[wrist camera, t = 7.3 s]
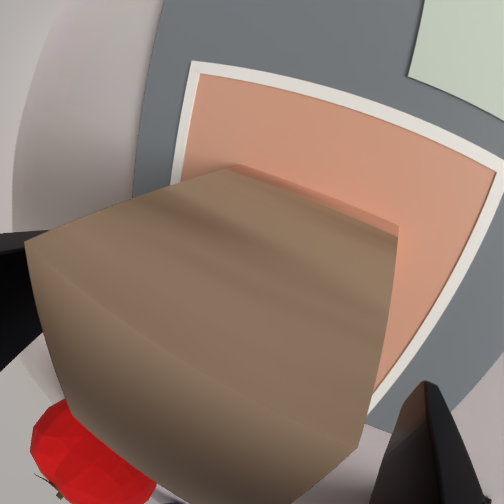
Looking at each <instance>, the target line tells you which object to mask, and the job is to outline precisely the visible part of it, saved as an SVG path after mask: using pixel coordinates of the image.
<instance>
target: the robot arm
mask: <svg viewBox="0 0 504 504" xmlns="http://www.w3.org/2000/svg"><path fill="white" fill-rule="evenodd" d="M47 231H50V230H42V231H28V232H14V233H3V234H0V372H1V371H2V370H3V369H4V368H5V367H6V366H7V365H8V364H9V363H10V362H11V361H12V360H13V359H14V358H15V357H16V356H17V355H18V354H19V353H21V352H22V351H23V350H24V349H25V348H26V347H27V346H28V345H29V344H30V343H31V342H32V341H33V340H35V339H36V338H37V337H38V336H39V335H40V334H41V333H42V332H43V330H42V326H41V322H40V319H39V315H38V311H37V307H36V302H35V298H34V294H33V289H32V284H31V279H30V274H29V269H28V263H27V257H26V251H25V244H24V242H25V241H27V240H29V239H31V238H34V237H36V236H38V235H41V234H43V233H45V232H47ZM491 501H492V500H491V499H488V498H484V495H483V492H482V489H481V487H480V484H479V481H478V478H477V476H476V473H475V470H474V468H473V465H472V462H471V460H470V457H469V455H468V452H467V450H466V447H465V445H464V442H463V440H462V438H461V435H460V433H459V431H458V428H457V426H456V424H455V421H454V419H453V417H452V415H451V412H450V410H449V408H448V406H447V404H446V402H445V399H444V397H443V395H442V393H441V391H440V389H439V387H438V385H436V384H434V383H432V382H429V381H427V380H423V381H421V382H420V383H419V384H418V386H417V387H416V388H415V389H414V390H413V392H412V393H411V394H410V395H409V396H408V397H407V399H406V400H405V401H404V403H403V405H402V407H401V410H400V413H399V416H398V419H397V421H396V424H395V427H394V430H393V433H392V435H391V438H390V441H389V443H388V446H387V449H386V451H385V454H384V457H383V460H382V463H381V466H380V469H379V473H378V476H377V479H376V483H375V486H374V489H373V492H372V495H371V498H370V501H369V504H491Z"/></svg>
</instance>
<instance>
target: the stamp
mask: <svg viewBox="0 0 504 504" xmlns="http://www.w3.org/2000/svg"><path fill="white" fill-rule="evenodd" d="M398 233H399V225H396V224H394V223H392V222H390V221H387V220H385V219H383V218H381V217H378V216H376V215H374V214H371V213H369V212H366V211H364V210H362V209H359V208H357V207H355V206H352V205H350V204H347V203H345V202H342V201H340V200H337V199H335V198H332V197H330V196H327V195H325V194H322V193H320V192H317V191H314V190H312V189H309V188H307V187H304V186H301V185H299V184H296V183H293V182H291V181H288V180H285V179H282V178H280V177H277V176H274V175H271V174H268V173H266V172H263V171H260V170H257V169H254V168H251V167H248V166H245V165H242V164H239V165H236V166H232V167H229V168H225V169H222V170H218V171H215V172H212V173H208V174H205V175H202V176H198V177H195V178H192V179H189V180H186V181H183V182H179V183H176V184H173V185H170V186H167V187H164V188H161V189H158V190H155V191H152V192H149V193H146V194H143V195H141V196H138V197H135V198H132V199H129V200H126V201H124V202H121V203H118V204H115V205H113V206H110V207H107V208H105V209H102V210H99V211H97V212H94V213H92V214H89V215H87V216H84V217H81V218H79V219H76V220H74V221H72V222H69V223H67V224H64V225H62V226H59V227H57V228H55V229H52V230H50V231H47V232H45V233H43V234H41V235H38V236H36V237H34V238H31V239H29V240H27V241H25V242H24V244H25V251H26V257H27V263H28V269H29V274H30V279H31V284H32V289H33V294H34V298H35V302H36V307H37V311H38V315H39V319H40V322H41V326H42V330H43V333H44V337H45V340H46V344H47V347H48V350H49V353H50V357H51V360H52V363H53V366H54V369H55V372H56V374H57V377H58V380H59V383H60V386H61V388H62V391H63V393H64V396H65V399H66V401H67V404H68V406H69V409H70V411H71V413H72V416H74V417H75V418H76V419H77V420H78V421H79V422H80V423H81V424H82V425H83V426H84V427H85V428H87V429H88V430H89V431H90V432H91V433H92V434H93V435H95V436H96V437H97V438H98V439H99V440H100V441H102V442H103V443H104V444H105V445H106V446H108V447H109V448H110V449H111V450H113V451H114V452H115V453H116V454H118V455H119V456H120V457H122V458H123V459H124V460H125V461H127V462H128V463H129V464H131V465H132V466H133V467H135V468H136V469H138V470H139V471H140V472H142V473H143V474H145V475H146V476H147V477H149V478H150V479H152V480H153V481H155V482H156V483H158V484H159V485H161V486H162V487H164V488H165V489H167V490H168V491H170V492H172V493H173V494H175V495H176V496H178V497H180V498H181V499H183V500H185V501H186V502H188V503H190V504H290V503H292V502H293V501H294V500H296V499H297V498H298V497H300V496H301V495H302V494H304V493H305V492H306V491H308V490H309V489H310V488H311V487H313V486H314V485H315V484H316V483H318V482H319V481H320V480H321V479H322V478H324V477H325V476H326V475H327V474H328V473H330V472H331V471H332V470H333V469H334V468H335V467H337V466H338V465H339V464H340V463H341V462H342V461H343V460H344V459H345V458H347V457H348V456H349V455H350V454H351V453H352V452H353V451H354V450H355V449H356V448H357V447H358V444H359V441H360V437H361V434H362V431H363V427H364V424H365V420H366V417H367V413H368V409H369V405H370V402H371V398H372V394H373V390H374V385H375V381H376V377H377V372H378V368H379V363H380V358H381V354H382V349H383V343H384V338H385V333H386V327H387V321H388V315H389V309H390V303H391V296H392V289H393V281H394V273H395V264H396V255H397V244H398Z"/></svg>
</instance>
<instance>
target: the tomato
mask: <svg viewBox="0 0 504 504" xmlns="http://www.w3.org/2000/svg"><path fill="white" fill-rule="evenodd" d="M30 453H31V455H32V457H33V458H34V460H35V462H36V464H37V466H38V468H39V470H40V472H41V473H42V474H43V475H44V476H45V477H46V478H47V479H48V480H49V481H50V482H49V481H47V480H46V479H44V478H42V477H40V478H42V479H44V480H46V481H47V482H49V484H51V485H52V486H53V487H54V488H55V489H56V490H57V491H58V493H57V495H56V496H57V497H58V498H59V499H62V498H63V497H65V499H66V500H68V501H69V502H70V503H71V504H144V503H145V502H146V501H148V500H149V498H150V496H151V495H152V493H153V491H154V489H155V488H156V484H157V483H156V482H155V481H153V480H152V479H150V478H149V477H147V476H146V475H145V474H143V473H142V472H140V471H139V470H138V469H136V468H135V467H133V466H132V465H131V464H129V463H128V462H127V461H125V460H124V459H123V458H122V457H120V456H119V455H118V454H116V453H115V452H114V451H113V450H111V449H110V448H109V447H108V446H106V445H105V444H104V443H103V442H102V441H100V440H99V439H98V438H97V437H96V436H95V435H93V434H92V433H91V432H90V431H89V430H88V429H87V428H85V427H84V426H83V425H82V424H81V423H80V422H79V421H78V420H77V419H76V418H75V417H74V416H72V413H71V411H70V409H69V406H68V404H67V401H66V399H63V400H61V401H59V402H58V403H56V404H54V405H52V406H51V407H49V408H48V409H47V410H46V411H45V413H44V414H43V415H42V417H41V418H40V419H39V420H38V422H37V423H36V424H35V426H34V427H33V433H32V440H31V447H30ZM36 476H37V475H36ZM38 477H39V476H38Z"/></svg>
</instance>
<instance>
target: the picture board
mask: <svg viewBox="0 0 504 504" xmlns="http://www.w3.org/2000/svg"><path fill="white" fill-rule="evenodd" d="M239 164H242V165H245V166H248V167H251V168H254V169H257V170H260V171H263V172H266V173H268V174H271V175H274V176H277V177H280V178H282V179H285V180H288V181H291V182H293V183H296V184H299V185H301V186H304V187H307V188H309V189H312V190H314V191H317V192H320V193H322V194H325V195H327V196H330V197H332V198H335V199H337V200H340V201H342V202H345V203H347V204H350V205H352V206H355V207H357V208H359V209H362V210H364V211H366V212H369V213H371V214H374V215H376V216H378V217H381V218H383V219H385V220H387V221H390V222H392V223H394V224H396V225H399V233H398V244H397V255H396V264H395V273H394V281H393V289H392V296H391V303H390V309H389V315H388V321H387V327H386V333H385V338H384V343H383V349H382V354H381V358H380V363H379V368H378V372H377V377H376V381H375V385H374V390H373V394H372V398H371V402H370V405H369V409H368V413H367V417H366V420H365V424H368V425H370V426H373V427H375V428H378V429H380V430H383V431H386V432H388V433H391V434H392V433H393V430H394V427H395V424H396V421H397V419H398V416H399V413H400V410H401V407H402V405H403V403H404V401H405V400H406V399H407V397H408V396H409V395H410V394H411V393H412V392H413V390H414V389H415V388H416V387H417V386H418V384H419V383H420V382H421V381H423V380H427V381H429V382H432V383H434V384H436V385H438V387H439V389H440V391H441V393H442V395H443V397H444V399H445V402H446V404H447V406H448V408H449V410H450V412H451V411H452V410H453V409H454V408H455V407H456V406H457V405H458V404H459V403H460V402H461V401H462V400H463V399H464V398H465V396H466V395H467V394H468V393H469V392H470V391H471V390H472V389H473V388H474V386H475V385H476V384H477V383H478V382H479V381H480V380H481V378H482V377H483V376H484V375H485V374H486V373H487V371H488V370H489V369H490V368H491V366H492V365H493V364H494V363H495V361H496V360H497V359H498V358H499V356H500V355H501V354H502V353H503V351H504V0H165V1H164V5H163V9H162V13H161V17H160V21H159V25H158V29H157V33H156V38H155V42H154V47H153V51H152V56H151V61H150V66H149V71H148V77H147V82H146V88H145V94H144V100H143V106H142V113H141V120H140V127H139V135H138V143H137V151H136V161H135V171H134V182H133V194H132V198H135V197H138V196H141V195H143V194H146V193H149V192H152V191H155V190H158V189H161V188H164V187H167V186H170V185H173V184H176V183H179V182H183V181H186V180H189V179H192V178H195V177H198V176H202V175H205V174H208V173H212V172H215V171H218V170H222V169H225V168H229V167H232V166H236V165H239Z"/></svg>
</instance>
